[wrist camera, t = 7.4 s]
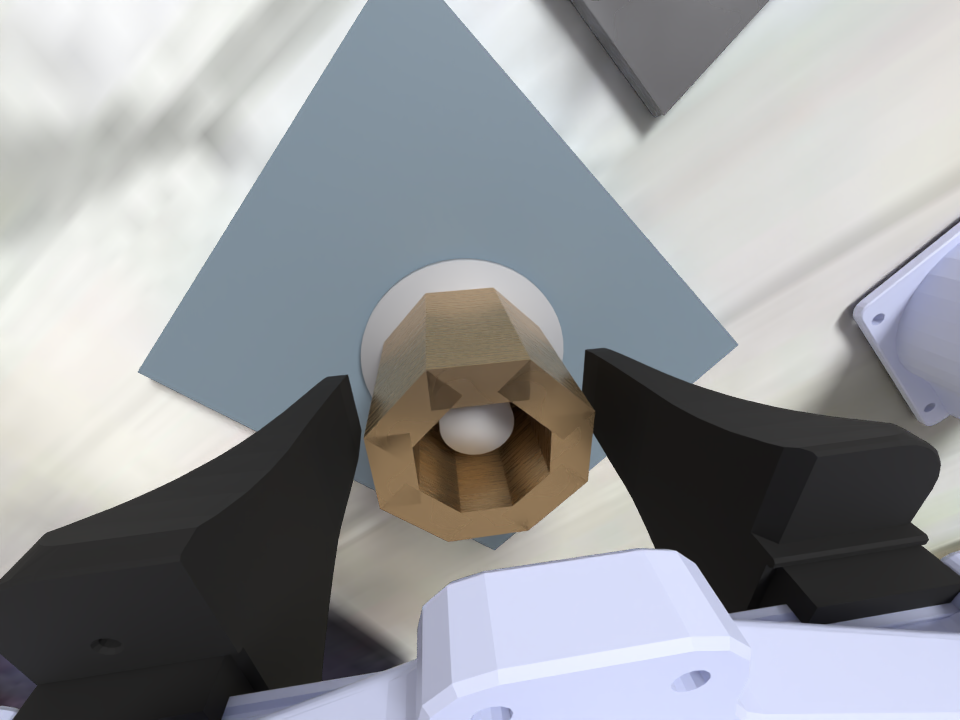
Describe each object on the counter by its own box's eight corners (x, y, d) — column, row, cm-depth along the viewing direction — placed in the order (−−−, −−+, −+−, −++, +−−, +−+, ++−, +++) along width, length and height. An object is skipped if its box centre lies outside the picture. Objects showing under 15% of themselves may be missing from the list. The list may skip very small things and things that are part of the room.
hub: (724, 336, 16) (832, 402, 12) (492, 536, 20) (510, 640, 16) (401, -37, 10) (383, -181, 6) (152, 360, 14) (29, 454, 9)
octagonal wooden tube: (540, 283, 13) (601, 352, 8) (537, 415, 15) (583, 523, 11) (376, 297, 12) (349, 378, 8) (400, 431, 15) (389, 550, 10)
